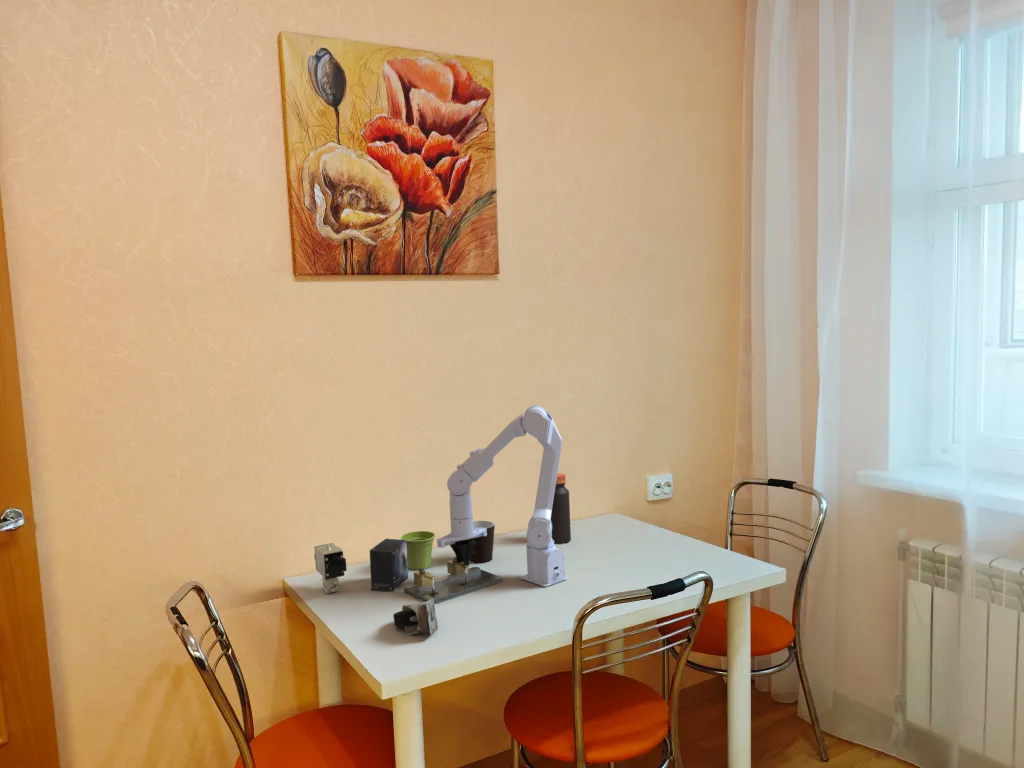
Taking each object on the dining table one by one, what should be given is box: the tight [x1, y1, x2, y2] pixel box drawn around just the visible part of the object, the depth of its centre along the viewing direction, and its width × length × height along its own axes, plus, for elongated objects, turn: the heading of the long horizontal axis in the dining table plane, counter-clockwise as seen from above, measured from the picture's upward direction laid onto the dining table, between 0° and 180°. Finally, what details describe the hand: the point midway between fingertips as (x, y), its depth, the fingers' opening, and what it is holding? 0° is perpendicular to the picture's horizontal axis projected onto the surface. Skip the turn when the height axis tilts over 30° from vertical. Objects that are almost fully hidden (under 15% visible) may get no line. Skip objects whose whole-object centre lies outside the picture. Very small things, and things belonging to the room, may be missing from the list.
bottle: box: [551, 472, 572, 545], centre depth 221 cm, size 7×7×20 cm
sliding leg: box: [446, 557, 469, 582], centre depth 188 cm, size 7×3×5 cm, turn 41°
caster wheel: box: [393, 598, 439, 636], centre depth 162 cm, size 7×11×10 cm
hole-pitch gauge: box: [403, 566, 504, 605], centre depth 187 cm, size 12×22×6 cm, turn 131°
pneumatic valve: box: [313, 543, 348, 595], centre depth 188 cm, size 6×12×12 cm, turn 30°
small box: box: [369, 538, 409, 592], centre depth 191 cm, size 11×6×10 cm, turn 167°
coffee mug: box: [469, 520, 496, 564], centre depth 209 cm, size 12×9×10 cm
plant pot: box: [400, 530, 436, 571], centre depth 204 cm, size 9×9×9 cm
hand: (464, 568), depth 191 cm, fingers closed
